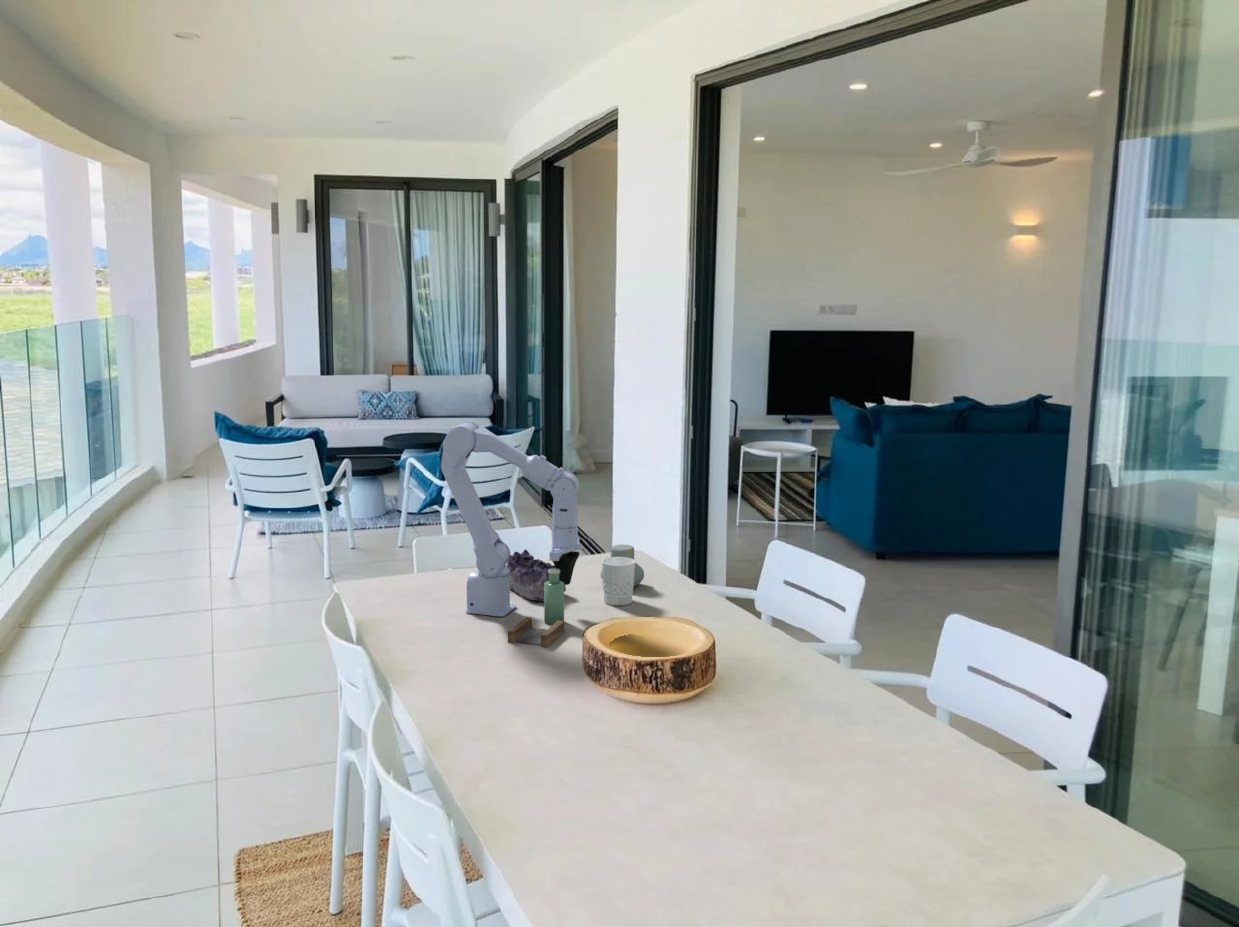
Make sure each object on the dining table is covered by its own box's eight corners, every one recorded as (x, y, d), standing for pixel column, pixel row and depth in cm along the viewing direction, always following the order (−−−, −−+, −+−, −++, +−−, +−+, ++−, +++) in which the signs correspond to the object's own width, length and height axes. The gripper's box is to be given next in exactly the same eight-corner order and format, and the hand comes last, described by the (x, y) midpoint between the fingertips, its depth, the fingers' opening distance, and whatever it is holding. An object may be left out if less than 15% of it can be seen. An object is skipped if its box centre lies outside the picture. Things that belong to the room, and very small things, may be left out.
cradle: (507, 642, 213) (507, 630, 212) (526, 627, 222) (526, 616, 222) (547, 647, 210) (547, 635, 210) (564, 631, 220) (564, 620, 219)
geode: (487, 586, 253) (490, 547, 253) (526, 585, 260) (529, 546, 260) (531, 603, 237) (535, 561, 237) (571, 601, 244) (575, 560, 244)
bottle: (541, 624, 225) (541, 571, 223) (548, 618, 229) (548, 566, 227) (559, 626, 223) (559, 573, 221) (566, 620, 227) (566, 568, 225)
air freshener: (649, 585, 255) (649, 546, 253) (632, 593, 248) (632, 553, 246) (612, 578, 261) (613, 540, 259) (595, 586, 254) (595, 547, 252)
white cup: (634, 606, 237) (635, 565, 236) (601, 606, 237) (601, 565, 236) (634, 596, 245) (635, 556, 243) (602, 596, 245) (602, 556, 244)
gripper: (570, 534, 221) (570, 594, 223) (592, 520, 235) (591, 576, 237) (540, 532, 223) (540, 591, 225) (563, 518, 237) (563, 574, 239)
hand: (565, 583), depth 231 cm, fingers closed
